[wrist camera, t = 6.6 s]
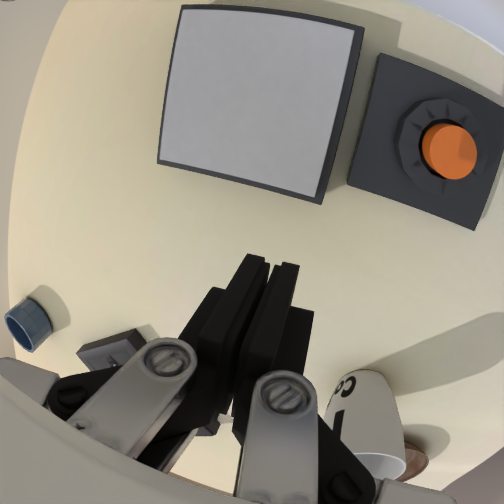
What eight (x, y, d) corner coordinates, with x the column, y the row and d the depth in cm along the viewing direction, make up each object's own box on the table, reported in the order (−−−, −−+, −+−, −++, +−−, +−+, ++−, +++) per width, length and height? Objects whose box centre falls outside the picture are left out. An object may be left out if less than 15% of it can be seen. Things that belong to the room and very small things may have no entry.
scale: (172, 157, 23) (151, 165, 20) (196, 12, 17) (176, 2, 14) (323, 195, 21) (320, 208, 18) (362, 35, 15) (366, 24, 13)
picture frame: (220, 424, 38) (135, 328, 33) (215, 436, 36) (125, 340, 31) (157, 424, 43) (82, 344, 38) (151, 434, 41) (73, 354, 37)
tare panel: (346, 180, 20) (347, 192, 18) (377, 55, 16) (384, 46, 13) (469, 225, 19) (483, 242, 16) (505, 112, 14) (526, 115, 12)
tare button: (415, 162, 16) (423, 168, 14) (429, 115, 14) (438, 116, 13) (457, 179, 15) (467, 187, 14) (471, 134, 14) (483, 138, 12)
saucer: (446, 447, 30) (448, 463, 28) (373, 481, 38) (371, 494, 35) (380, 418, 30) (380, 437, 27) (304, 457, 37) (300, 473, 35)
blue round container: (26, 315, 41) (7, 332, 37) (23, 288, 38) (1, 305, 33) (54, 340, 41) (35, 359, 37) (53, 315, 38) (32, 335, 33)
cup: (344, 349, 26) (335, 444, 18) (416, 370, 26) (425, 459, 17) (311, 397, 30) (295, 478, 22) (376, 414, 30) (373, 492, 21)
